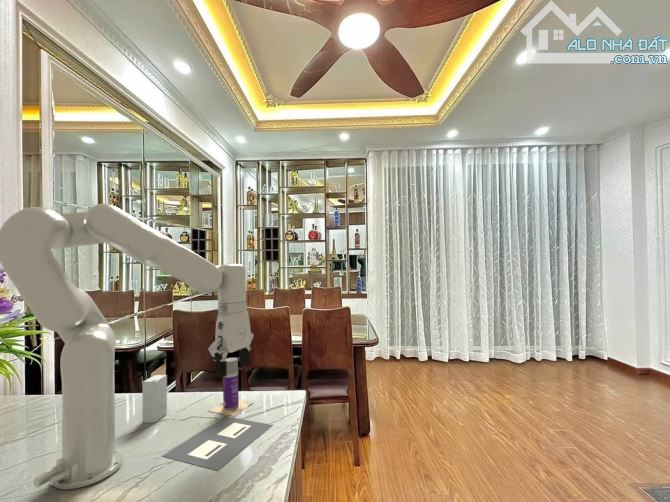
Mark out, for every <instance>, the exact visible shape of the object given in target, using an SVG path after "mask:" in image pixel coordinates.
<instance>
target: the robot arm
mask: <svg viewBox="0 0 670 502" xmlns="http://www.w3.org/2000/svg"><path fill="white" fill-rule="evenodd" d="M99 244H106V245H109V246H110V247H112V248H114V249H116V250H117V251H119V252H121V253H123V254H124V255H126V256H129V257H130V258H132V259H134V260H136V261H137V262H138V263H140V264H143V265H145V266H147V267H150V268H152V269H156V270H158V271H160V272H162V273H165V274H167V275H168V276H171V277H173V278H175V279H176V280H179V281H180V282H182V283H184V284H185V285H187V286H188V287H189V288H190V289H191V290H193V291H196V292H198V293H200V294H202V293H203V294H210V293H211V294H212V293H213V292H215V291H217V313H218V314H217V318H216V324H215V332H214V333H215V335H214V338H215V340H214V341H213V342H212V343H211V344H210V345H209V347H208V351H209V353H210V357H211V358H213V361H214V362H215V376H216V377H222V378H223V377H225V376H227V362H226V361H225V359H227V356H228V354H229V353H234V352H237V351H238V352H239V356H238V358H239V362H238V363H239V365H240V366H247V367H249V366H250V365H251V364H250V363H251V361H250V357H251V356H250V355H251V353H250V351H251V350H252V345H253V338H254V336H255V335H254V333H253V332H251V331H252V330H251V324H250V323H251V322H250V316H249V312H248V311H247V281H246V280H247V279H246V277H247V276H246V275H247V273H246V272H247V271H246V267H245V265H244V264H241V263H228V264H227V263H225V264H220V265H215V264H214V263H213V262H211V261H209V260H208V259H206V258H204V257H202V256H201V255H199V254H197V253H195V252H194V251H193V250H190V249H188V248H187V247H185V246H183V245H182V244H179V242H176V241H174V240H173V239H171V238H170V237H168V236H166V235H164V234H163V233H162V232H161V233H160V232H159V231H157V229H154V228H152V227H150V226H149V225H147V224H145V223H144V222H142V221H141V220H139V219H137V218H136V217H134V216H132V215H131V214H129V213H127V212H126V211H125V210H122V209H121V208H119V207H117V206H116V205H112V204H110V203H98V204H95V205H93V206H91V207H90V208H88V210H87V211H82V212H70V213H65V212H64V213H58V212H56V211H55V210H53V209H50V208H48V207H41V206H31V207H26V208H23V209H21V210H18V211H17V212H15V213H13V214H12V215H11V216H9V218H7V220H5V222H4V223H3V225H2V226H1V227H0V265H1V267H2V269H3V270H4V272H5V274H6V275H7V277H8V278H9V280H10V281H11V282H12V284H13V285H14V287H15V288H16V291H17V292H18V293H19V295H20V296H21V298H22V299H23V300H24V302H25V304H26V305H27V306H28V308H29V310H30V311H31V313H32V315H33V316H34V318H35V319H36V321H37V322H38V324H40V326H41V327H43V328H44V329H46V330H48V331H50V332H51V331H52V332H56V333H57V335H58V336H59V337H60V339H61V340H62V341H63V343H64V345H63V348H62V351H61V354H60V364H59V365H60V377H61V378H60V379H61V403H62V404H61V409H62V412H61V415H62V416H61V418H62V421H61V422H62V423H61V424H62V425H61V426H62V427H61V439H62V440H61V441H62V442H61V446H62V447H61V452H62V453H61V458H59V459H57V460H56V461H55V462H56V465H55V466H53V467H52V468H51V470H48V471H46V472H44V473H42V474H40V475H38V476H35V477H34V478H33V485H34V487H35V488H39V487H42V486H43V485H45V484H46V483H49V485H50V486H53V487H55V488H56V489H59V490H74V489H80V488H84V487H86V486H87V487H88V486H91V485H93V484H96V483H98V482H101V481H102V480H104V479H106V478H107V477H109V476H111V475H113V474H114V473H115V472H116V471H117V470H118V469H120V467H121V466H122V465H123V461H124V456H123V454H122V453H121V452H119V451H116V448H115V447H116V445H115V444H116V441H115V440H116V439H115V438H116V436H115V435H116V434H115V433H116V432H115V431H116V426H115V425H116V419H115V418H116V416H115V415H116V412H115V411H116V405H115V400H116V398H115V395H116V394H115V387H116V386H115V357H116V356H115V355H116V354H115V352H116V351H115V350H116V343H117V338H116V334H115V332H114V330H113V329H112V327H111V326H110V324H109V323H108V321H107V319H106V318H105V316H104V314H102V312H101V310H100V309H99V307H98V305H97V304H96V303H95V301H94V300H93V298H92V297H91V296H90V295H89V293H87V291H85V290H83V289H81V288H78V287H76V286H75V284H74V283H73V282H72V281H71V279H70V278H69V276H68V275H67V273H66V272H65V269H64V268H63V266H62V265H61V264H60V262H59V261H58V260H57V258H56V256H55V255H54V251H53V250H59V249H68V248H75V247H83V246H91V245H99Z"/></svg>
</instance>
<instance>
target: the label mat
mask: <svg viewBox="0 0 670 502" xmlns="http://www.w3.org/2000/svg"><path fill="white" fill-rule="evenodd" d="M272 426H273V424H271V423H265V422H259V421H253V420H248V419H243V418H237V417H236V418H235V417H233V416H232V417H231V416H228V415H224V416H223V417H221V418H219V419H218V420H216V421H214V422H213V423H212V424H210V425H208V426H207V427H206V428H204V429H202V430H200V431H199V432H198V433H196V434H195V435H193V436H191V437H190V438H188V439H186V440H185V441H183V442H182V443H180V444H178V445H177V446H175V447H174V448H172V449H171V450H169V451H167V452H166V453H164V454H163V455H162V457H164V458H166V459H167V458H168V459H172V460H175V461H179V462H183V463H186V464H191V465H195V466H198V467H202V468H206V469H210V470H213V471H217V472H218V471H219V470H220V469H222V468H223V467H224V466H225V465H227V464H228V463H230V461H231V460H233V459H234V458H235V457H236V456H238V455H239V454H240V453H241V452H242V451H244V450H245V449H246V448H247V447H249V446H250V445H251V444H252V443H253V442H255V441H256V440H257V439H258V438H260V437H261V435H263V434H264V433H265V432H267V431H268V430H269V429H270V428H271V427H272Z"/></svg>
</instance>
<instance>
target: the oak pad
mask: <svg viewBox="0 0 670 502" xmlns="http://www.w3.org/2000/svg"><path fill="white" fill-rule="evenodd" d="M250 402H251V401H245V400H239V406H238V407H237V408H236V409H233V410H225V409H224V408H223V402H221V403H219V404H218V405H216V406H215V407H213V408H211V409H209V410H208V411H207V412H209V413H214V414H221V415H224V416H229V417H231V416H232V417H235V416H237V415H238V414H240V413H241V412H243V410H245V409H247V408H248V407H249V406H247V405H249V403H250ZM247 403H248V404H247Z"/></svg>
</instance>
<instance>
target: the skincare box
mask: <svg viewBox="0 0 670 502" xmlns="http://www.w3.org/2000/svg"><path fill="white" fill-rule="evenodd" d="M167 386H168V375H167V374H157V375H156V374H154V375H152V376H151V377H149V378H147V379H145V380H143V381H142V409H141V410H142V415H141V417H142V418H141V420H142V422H141V423H143V424H144V423H145V424H146V423H147V424H150V423H151V424H153V423H157V422H158V421H159V420H160V419H162V418H163V417H164V416H166V414H167V413H168V407H167V406H168V401H167V400H168V392H167V391H168V387H167Z"/></svg>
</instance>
